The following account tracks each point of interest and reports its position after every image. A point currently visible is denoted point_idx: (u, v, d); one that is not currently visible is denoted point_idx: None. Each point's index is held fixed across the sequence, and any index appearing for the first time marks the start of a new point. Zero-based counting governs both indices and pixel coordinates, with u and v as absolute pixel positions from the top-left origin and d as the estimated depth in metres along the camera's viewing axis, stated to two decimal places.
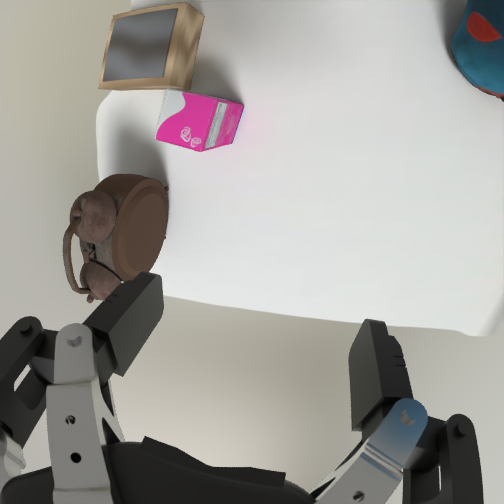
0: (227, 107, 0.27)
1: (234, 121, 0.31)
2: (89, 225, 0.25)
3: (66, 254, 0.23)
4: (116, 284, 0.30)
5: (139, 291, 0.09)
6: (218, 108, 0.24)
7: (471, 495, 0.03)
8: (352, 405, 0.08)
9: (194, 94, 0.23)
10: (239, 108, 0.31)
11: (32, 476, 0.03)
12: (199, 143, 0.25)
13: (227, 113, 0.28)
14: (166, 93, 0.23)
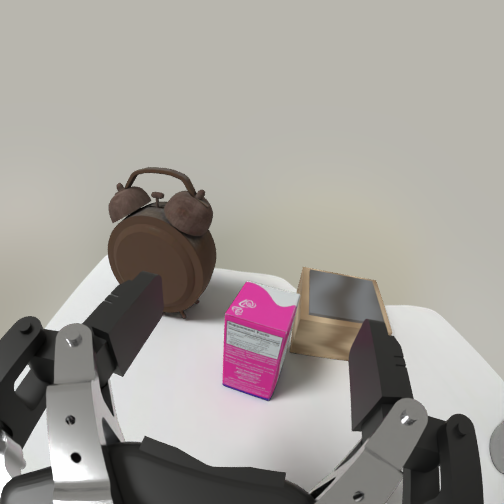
0: (271, 361, 0.24)
1: (251, 382, 0.27)
2: (184, 200, 0.29)
3: (170, 170, 0.29)
4: (119, 213, 0.30)
5: (139, 291, 0.09)
6: (274, 340, 0.23)
7: (471, 495, 0.03)
8: (352, 405, 0.08)
9: (292, 315, 0.24)
10: (266, 389, 0.26)
11: (32, 476, 0.03)
12: (235, 313, 0.23)
13: (263, 364, 0.25)
14: (295, 293, 0.26)
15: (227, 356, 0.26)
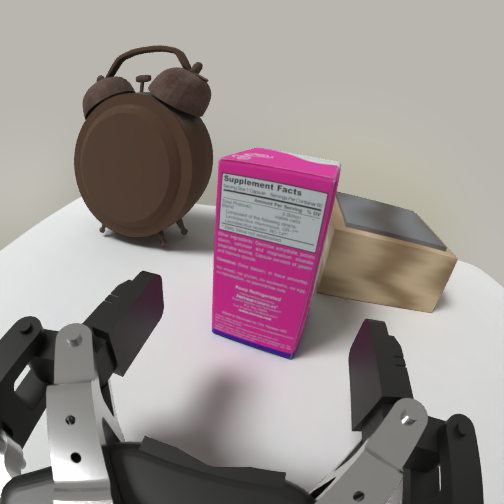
0: (304, 260, 0.13)
1: (261, 319, 0.16)
2: (175, 69, 0.19)
3: None
4: (93, 99, 0.20)
5: (139, 291, 0.09)
6: (311, 202, 0.12)
7: (471, 495, 0.03)
8: (352, 405, 0.08)
9: (337, 171, 0.13)
10: (289, 333, 0.16)
11: (32, 476, 0.03)
12: (237, 158, 0.13)
13: (287, 269, 0.14)
14: None
15: (220, 261, 0.15)
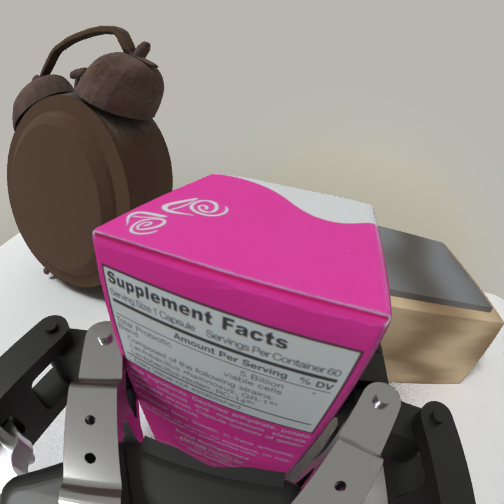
0: (288, 437, 0.05)
1: (222, 464, 0.08)
2: (109, 55, 0.11)
3: (100, 26, 0.11)
4: (18, 107, 0.12)
5: None
6: (314, 365, 0.04)
7: (458, 481, 0.03)
8: None
9: (380, 249, 0.05)
10: None
11: (32, 476, 0.03)
12: (129, 230, 0.05)
13: (257, 439, 0.06)
14: (359, 202, 0.08)
15: (144, 398, 0.07)
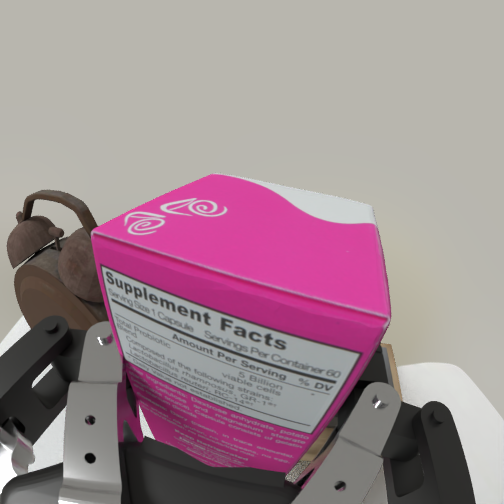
0: (287, 438, 0.05)
1: (222, 464, 0.08)
2: (77, 246, 0.16)
3: (61, 196, 0.16)
4: (13, 258, 0.17)
5: None
6: (313, 365, 0.04)
7: (457, 482, 0.03)
8: None
9: (380, 249, 0.05)
10: None
11: (32, 476, 0.03)
12: (127, 230, 0.05)
13: (256, 439, 0.06)
14: (358, 202, 0.08)
15: (143, 398, 0.07)
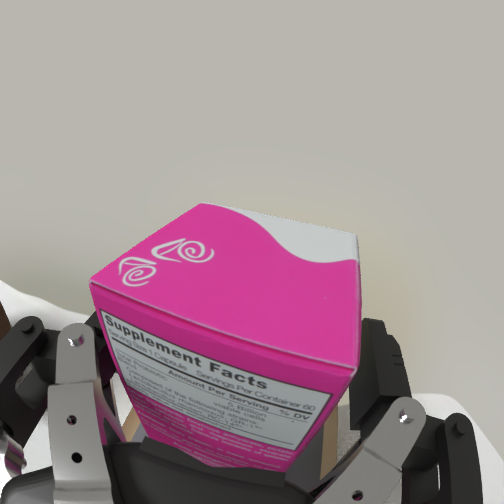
0: (274, 453, 0.06)
1: None
2: None
3: None
4: None
5: None
6: (291, 401, 0.05)
7: (470, 494, 0.03)
8: (350, 404, 0.08)
9: (358, 290, 0.06)
10: None
11: (32, 476, 0.03)
12: (122, 281, 0.05)
13: (247, 453, 0.06)
14: (342, 232, 0.08)
15: (144, 416, 0.08)
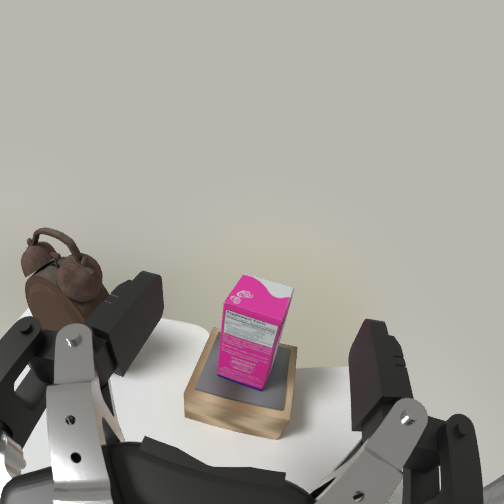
0: (266, 350, 0.26)
1: (245, 372, 0.28)
2: (68, 267, 0.25)
3: (58, 235, 0.25)
4: (26, 270, 0.26)
5: (139, 291, 0.09)
6: (270, 328, 0.24)
7: (471, 495, 0.03)
8: (352, 405, 0.08)
9: (287, 305, 0.26)
10: (260, 379, 0.28)
11: (32, 476, 0.03)
12: (233, 302, 0.25)
13: (258, 353, 0.26)
14: (289, 287, 0.28)
15: (223, 345, 0.27)
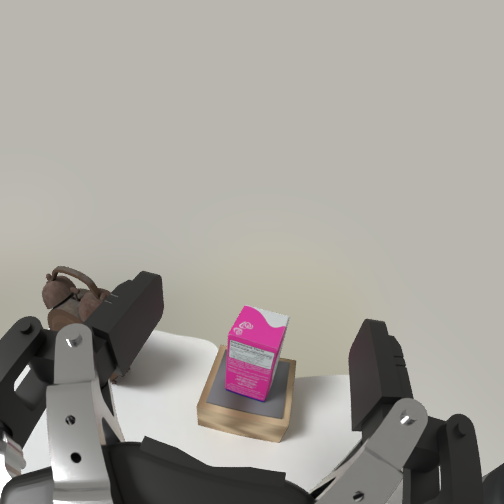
0: (266, 371, 0.29)
1: (249, 387, 0.32)
2: (89, 303, 0.29)
3: (77, 274, 0.29)
4: (48, 304, 0.30)
5: (139, 291, 0.09)
6: (268, 354, 0.28)
7: (471, 495, 0.03)
8: (352, 405, 0.08)
9: (282, 334, 0.29)
10: (262, 393, 0.32)
11: (32, 476, 0.03)
12: (236, 334, 0.29)
13: (259, 373, 0.30)
14: (285, 316, 0.32)
15: (229, 366, 0.31)
